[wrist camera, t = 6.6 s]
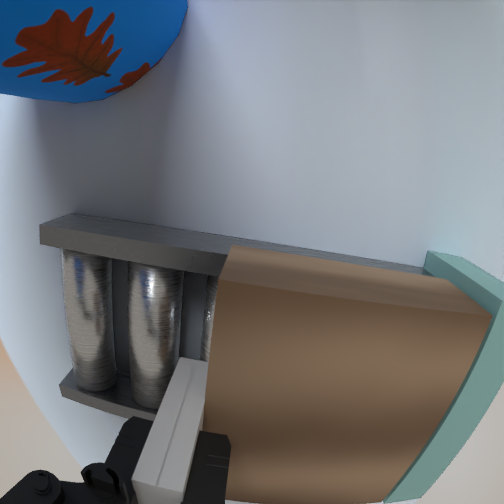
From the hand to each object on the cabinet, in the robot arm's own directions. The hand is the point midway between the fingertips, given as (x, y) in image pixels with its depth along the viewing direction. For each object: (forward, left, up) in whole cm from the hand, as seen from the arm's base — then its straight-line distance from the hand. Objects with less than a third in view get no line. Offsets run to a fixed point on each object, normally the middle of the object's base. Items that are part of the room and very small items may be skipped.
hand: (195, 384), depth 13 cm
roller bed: (0, +1, -5) cm, 5 cm away
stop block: (0, +12, -5) cm, 13 cm away
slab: (0, +6, -2) cm, 6 cm away
